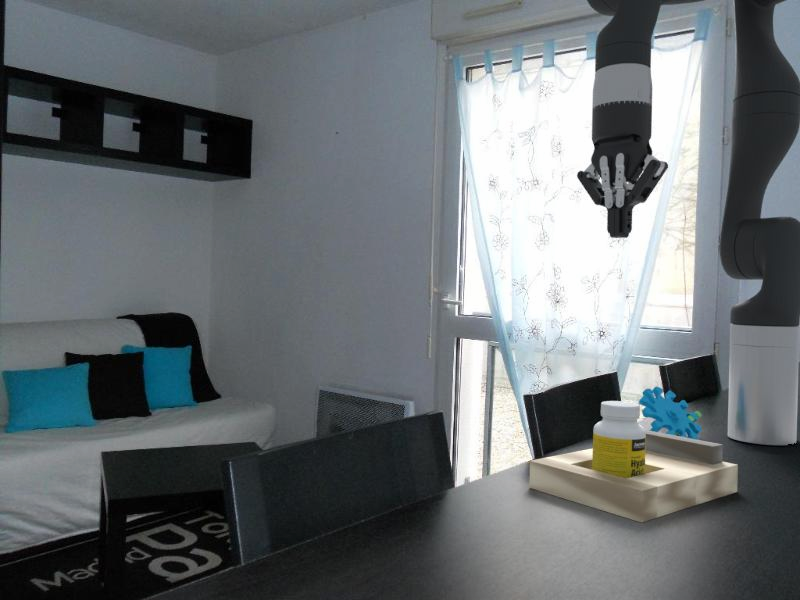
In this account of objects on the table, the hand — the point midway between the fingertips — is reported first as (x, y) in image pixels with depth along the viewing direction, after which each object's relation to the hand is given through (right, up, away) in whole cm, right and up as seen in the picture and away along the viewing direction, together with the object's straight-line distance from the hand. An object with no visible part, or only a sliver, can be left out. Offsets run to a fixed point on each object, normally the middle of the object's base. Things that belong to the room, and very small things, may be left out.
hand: (619, 237), depth 93 cm
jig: (-3, -29, -16) cm, 33 cm away
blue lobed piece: (+12, -29, +12) cm, 34 cm away
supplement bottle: (-6, -29, -17) cm, 35 cm away
